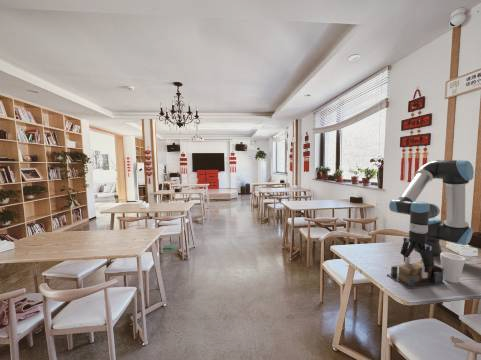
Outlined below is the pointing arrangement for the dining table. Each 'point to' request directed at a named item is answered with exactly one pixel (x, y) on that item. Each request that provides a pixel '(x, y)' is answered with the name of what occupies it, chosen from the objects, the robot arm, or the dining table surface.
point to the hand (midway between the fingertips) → (415, 272)
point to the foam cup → (452, 266)
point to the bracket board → (434, 280)
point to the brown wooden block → (413, 272)
